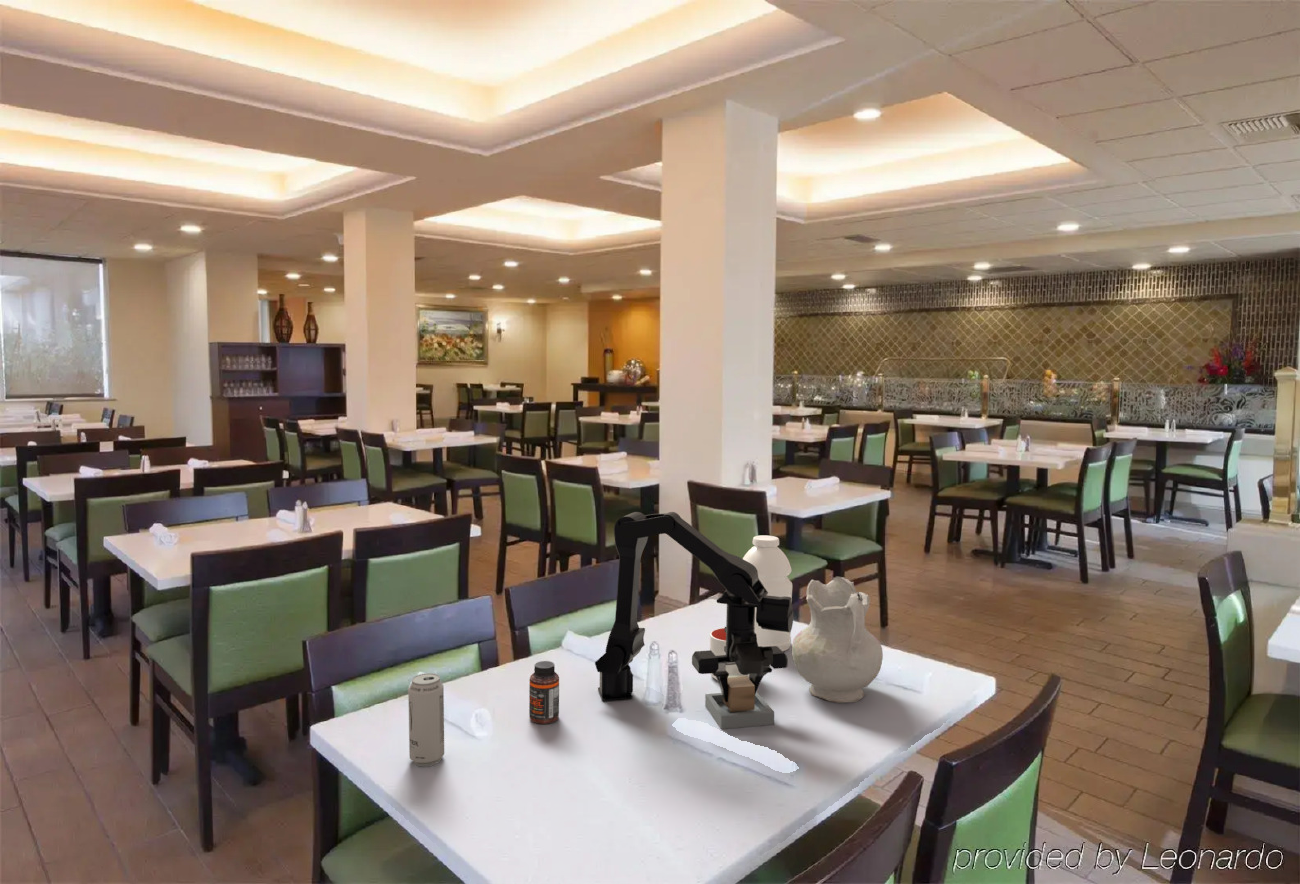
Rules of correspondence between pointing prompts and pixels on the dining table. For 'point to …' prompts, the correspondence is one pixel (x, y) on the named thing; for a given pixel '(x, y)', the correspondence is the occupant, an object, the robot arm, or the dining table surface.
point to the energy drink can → (426, 719)
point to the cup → (722, 650)
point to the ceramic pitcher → (837, 643)
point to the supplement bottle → (544, 693)
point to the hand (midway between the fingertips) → (738, 700)
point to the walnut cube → (740, 694)
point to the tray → (739, 713)
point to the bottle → (771, 583)
